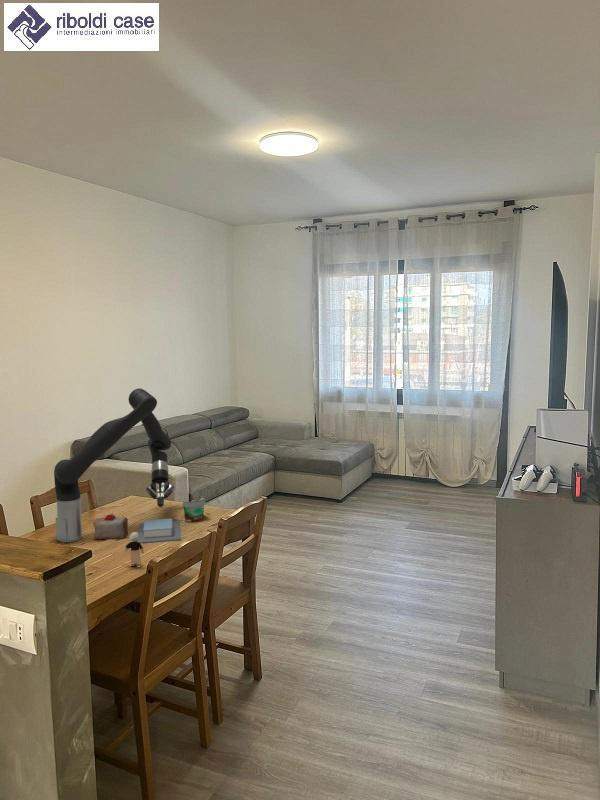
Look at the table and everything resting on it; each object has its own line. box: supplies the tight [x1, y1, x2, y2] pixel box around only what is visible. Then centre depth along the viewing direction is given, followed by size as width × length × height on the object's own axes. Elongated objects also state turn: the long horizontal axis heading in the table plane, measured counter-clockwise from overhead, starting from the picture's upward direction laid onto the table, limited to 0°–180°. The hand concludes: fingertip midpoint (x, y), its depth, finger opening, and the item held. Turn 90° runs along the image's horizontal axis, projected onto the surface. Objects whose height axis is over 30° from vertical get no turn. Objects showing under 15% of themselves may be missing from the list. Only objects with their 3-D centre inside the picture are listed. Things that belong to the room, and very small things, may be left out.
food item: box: [92, 513, 129, 540], centre depth 248 cm, size 14×8×10 cm, turn 90°
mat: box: [136, 519, 182, 545], centre depth 254 cm, size 26×18×1 cm
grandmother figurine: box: [124, 531, 145, 567], centre depth 216 cm, size 8×4×13 cm, turn 88°
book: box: [143, 517, 174, 539], centre depth 252 cm, size 4×12×14 cm
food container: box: [182, 495, 206, 523], centre depth 269 cm, size 12×6×10 cm, turn 146°
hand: (160, 506), depth 261 cm, fingers closed
